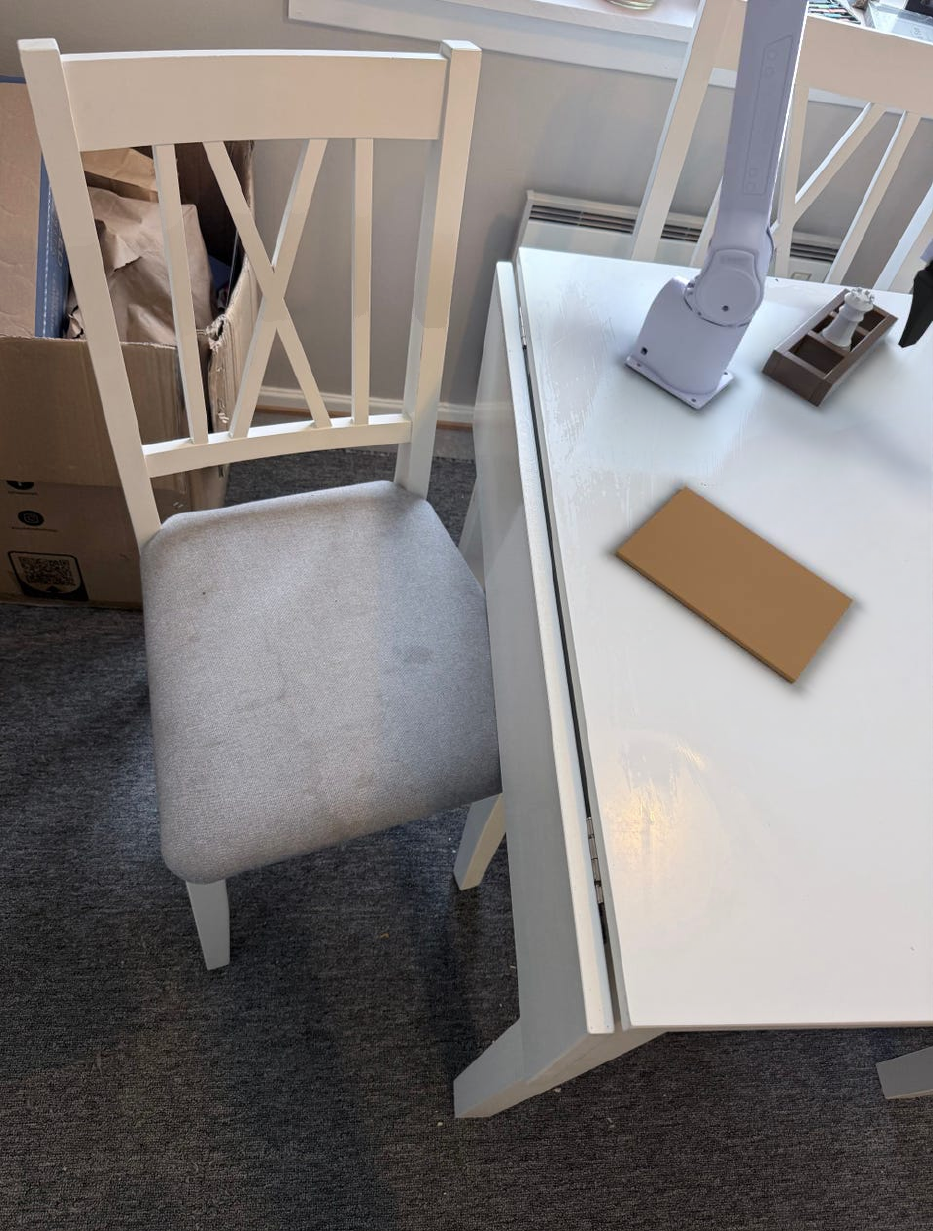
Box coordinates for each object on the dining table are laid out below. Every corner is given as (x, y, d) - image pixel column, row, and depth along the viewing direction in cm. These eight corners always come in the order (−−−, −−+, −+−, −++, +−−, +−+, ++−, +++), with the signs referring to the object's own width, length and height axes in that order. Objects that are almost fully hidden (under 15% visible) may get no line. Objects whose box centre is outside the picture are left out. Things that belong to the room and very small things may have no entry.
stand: (761, 371, 93) (773, 349, 91) (831, 309, 103) (844, 287, 101) (818, 407, 91) (832, 385, 89) (884, 339, 101) (898, 318, 99)
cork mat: (615, 554, 73) (616, 550, 73) (683, 489, 79) (685, 485, 79) (792, 683, 68) (795, 680, 68) (850, 603, 75) (853, 599, 74)
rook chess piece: (845, 371, 96) (885, 311, 89) (807, 361, 96) (845, 299, 89) (842, 349, 99) (881, 288, 92) (806, 338, 98) (842, 277, 92)
